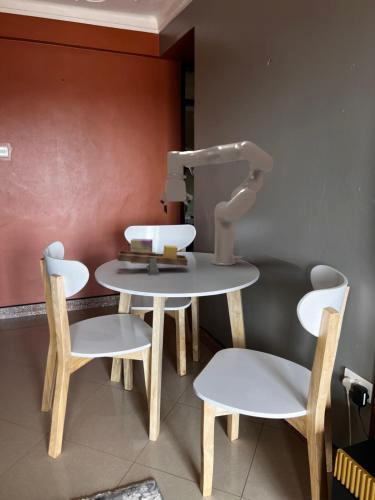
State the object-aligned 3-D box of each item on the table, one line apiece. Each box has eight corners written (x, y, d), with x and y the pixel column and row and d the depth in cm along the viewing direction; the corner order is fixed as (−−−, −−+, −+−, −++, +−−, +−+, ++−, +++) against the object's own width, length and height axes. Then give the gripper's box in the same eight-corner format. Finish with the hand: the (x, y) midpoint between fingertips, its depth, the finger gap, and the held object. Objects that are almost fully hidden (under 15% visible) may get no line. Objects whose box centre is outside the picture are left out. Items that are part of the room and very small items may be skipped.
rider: (175, 258, 182) (176, 246, 181) (176, 260, 177) (177, 247, 176) (162, 257, 181) (164, 245, 180) (163, 259, 176) (164, 246, 175)
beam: (184, 261, 185) (185, 255, 185) (187, 265, 175) (187, 259, 175) (118, 256, 181) (118, 250, 180) (117, 260, 171) (117, 254, 170)
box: (152, 261, 199) (152, 238, 197) (150, 263, 193) (150, 240, 191) (133, 260, 200) (132, 238, 198) (130, 262, 194) (130, 240, 192)
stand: (157, 266, 187) (157, 252, 186) (158, 274, 171) (158, 259, 169) (147, 266, 187) (146, 252, 185) (147, 275, 170) (147, 259, 169)
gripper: (192, 177, 188) (192, 212, 191) (157, 177, 186) (157, 212, 189) (194, 177, 180) (194, 213, 184) (157, 177, 178) (158, 214, 181)
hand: (175, 213), depth 186 cm, fingers open, 9 cm apart
